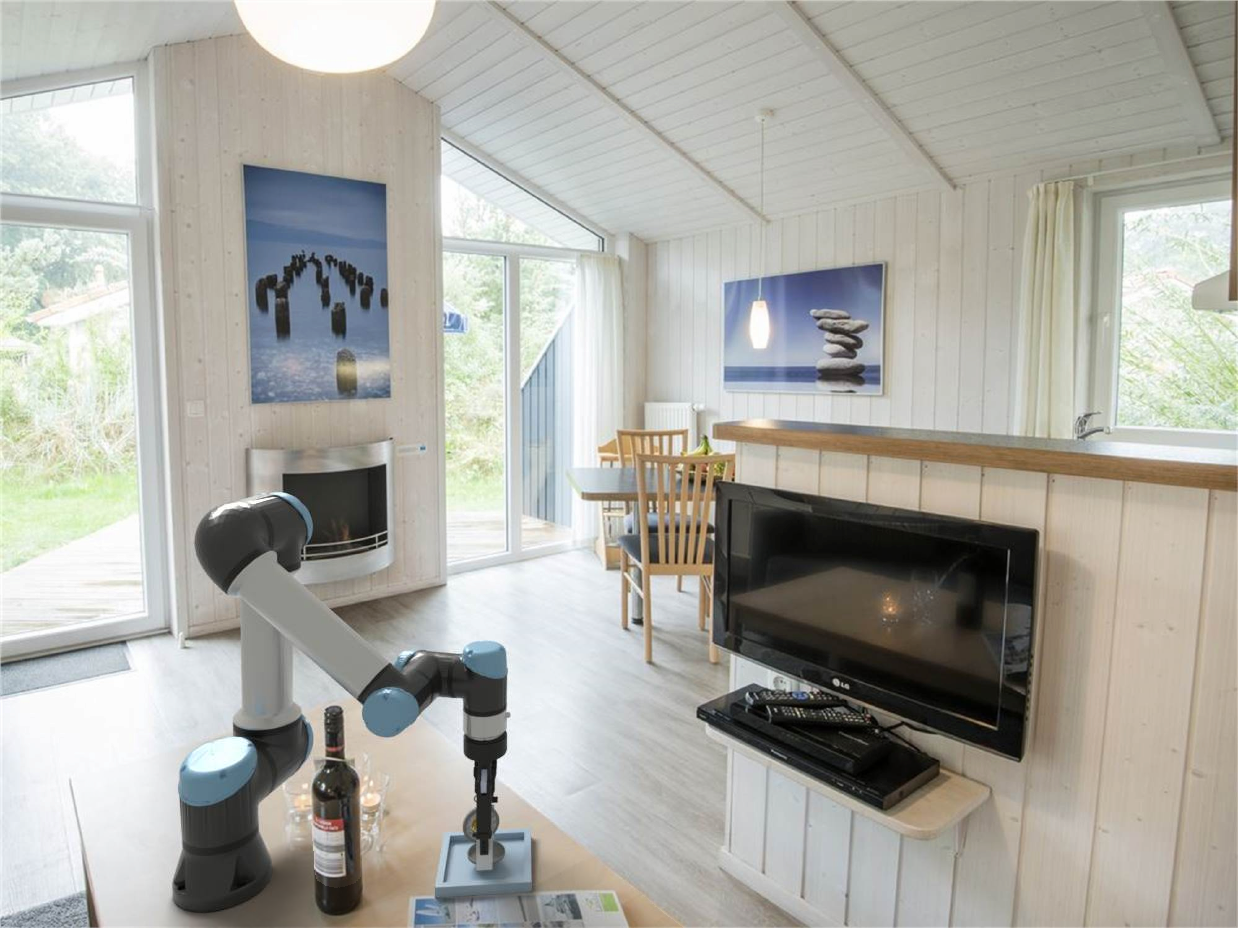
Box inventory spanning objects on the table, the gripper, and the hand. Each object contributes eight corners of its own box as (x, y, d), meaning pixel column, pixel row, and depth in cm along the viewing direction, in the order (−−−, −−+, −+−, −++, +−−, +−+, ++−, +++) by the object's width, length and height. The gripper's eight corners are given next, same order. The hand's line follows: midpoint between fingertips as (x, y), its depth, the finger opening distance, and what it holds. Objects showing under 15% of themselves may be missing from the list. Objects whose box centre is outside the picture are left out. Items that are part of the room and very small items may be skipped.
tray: (434, 897, 134) (434, 887, 134) (444, 841, 150) (444, 832, 150) (531, 891, 136) (531, 881, 136) (530, 836, 152) (530, 827, 152)
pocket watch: (488, 872, 138) (488, 818, 136) (451, 856, 142) (451, 803, 141) (518, 848, 145) (518, 796, 143) (482, 833, 149) (482, 782, 148)
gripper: (505, 759, 130) (505, 890, 133) (508, 705, 151) (508, 819, 154) (458, 761, 129) (459, 892, 132) (467, 706, 150) (468, 821, 153)
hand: (485, 853), depth 143 cm, fingers closed on pocket watch, 8 cm apart
